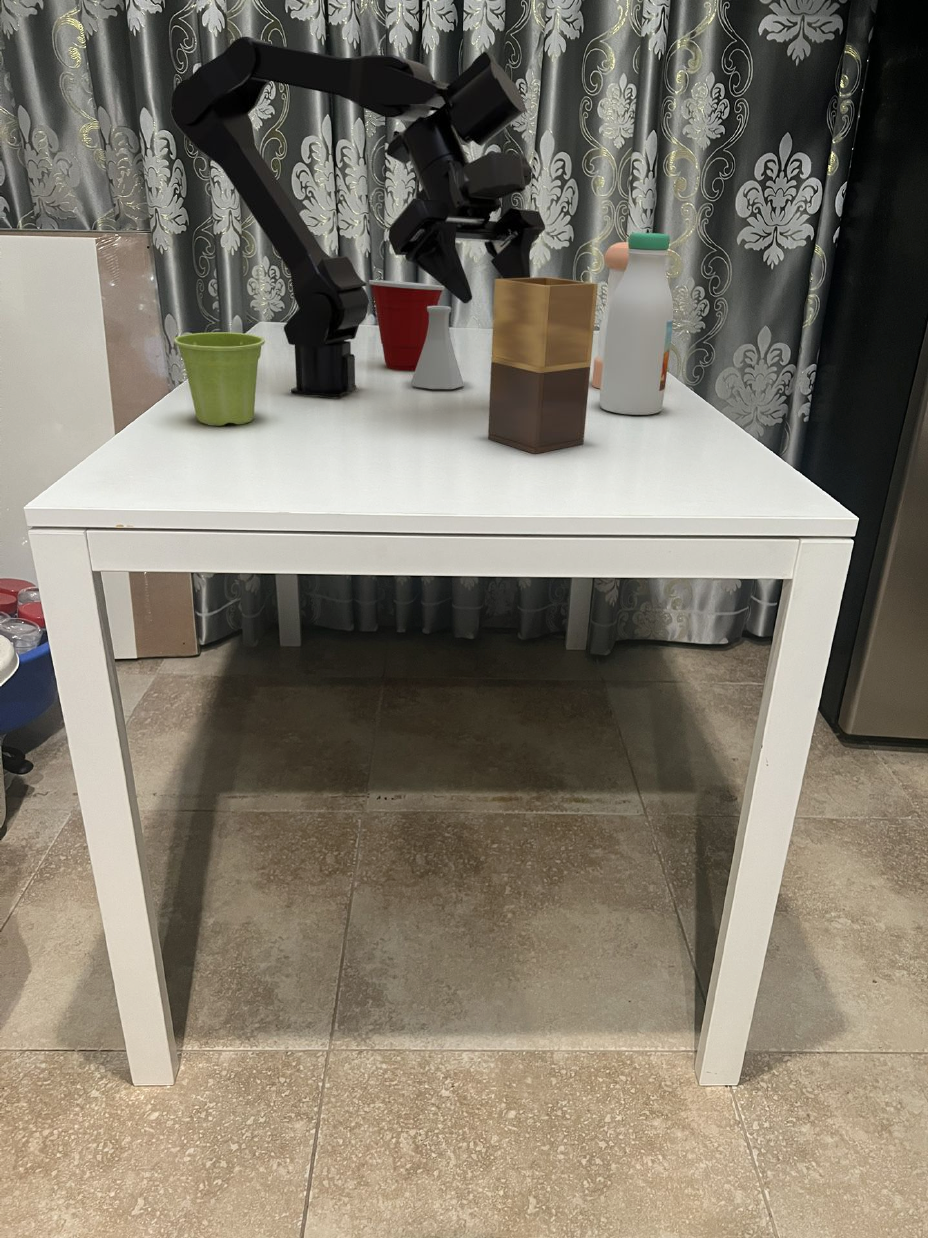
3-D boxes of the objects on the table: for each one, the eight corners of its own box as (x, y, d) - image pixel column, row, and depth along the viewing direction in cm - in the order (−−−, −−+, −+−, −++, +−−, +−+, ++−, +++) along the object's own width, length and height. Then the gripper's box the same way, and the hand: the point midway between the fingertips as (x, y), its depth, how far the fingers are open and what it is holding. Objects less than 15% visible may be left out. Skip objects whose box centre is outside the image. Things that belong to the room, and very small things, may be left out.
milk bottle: (648, 419, 107) (670, 235, 98) (588, 410, 110) (604, 232, 102) (671, 408, 113) (693, 234, 104) (613, 399, 116) (631, 230, 108)
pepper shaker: (609, 393, 120) (625, 236, 112) (582, 382, 126) (595, 233, 118) (655, 390, 123) (674, 237, 115) (626, 379, 129) (642, 233, 121)
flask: (458, 392, 117) (460, 311, 113) (404, 388, 118) (404, 308, 114) (469, 382, 124) (471, 305, 119) (417, 378, 125) (418, 302, 120)
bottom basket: (487, 438, 96) (490, 361, 93) (536, 429, 101) (541, 355, 97) (534, 454, 91) (540, 373, 88) (583, 444, 96) (590, 366, 92)
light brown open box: (490, 361, 93) (494, 278, 89) (541, 355, 97) (546, 276, 94) (540, 373, 88) (545, 285, 84) (590, 366, 92) (598, 283, 89)
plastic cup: (457, 366, 134) (460, 280, 129) (415, 377, 126) (416, 285, 120) (398, 358, 139) (398, 274, 134) (354, 367, 131) (352, 279, 126)
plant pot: (285, 415, 103) (280, 336, 99) (240, 434, 95) (234, 348, 91) (213, 407, 105) (206, 329, 102) (164, 424, 97) (154, 340, 93)
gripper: (421, 105, 86) (484, 252, 84) (549, 129, 98) (605, 257, 97) (361, 183, 94) (418, 318, 93) (486, 196, 106) (537, 315, 105)
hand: (499, 300), depth 97 cm, fingers open, 9 cm apart
